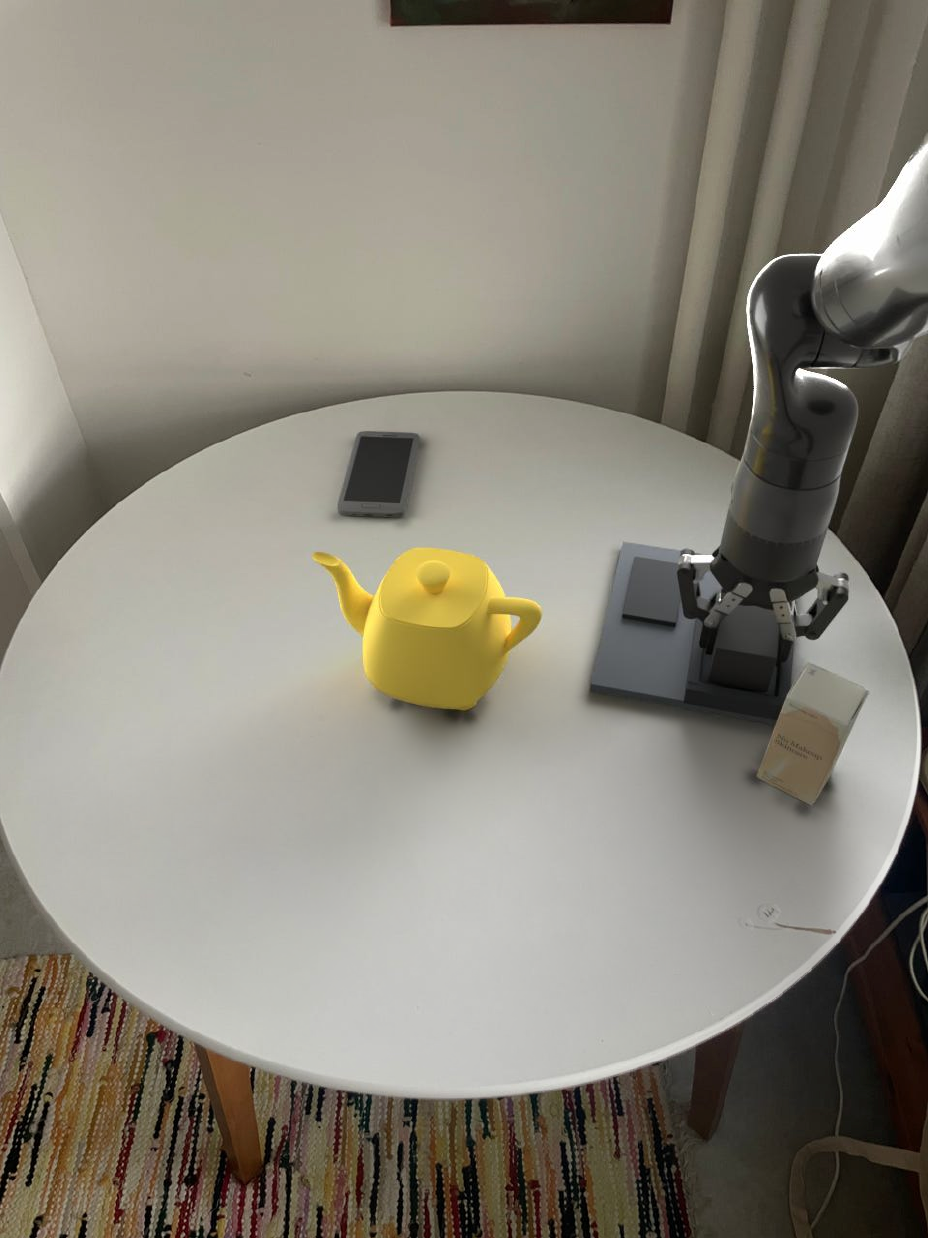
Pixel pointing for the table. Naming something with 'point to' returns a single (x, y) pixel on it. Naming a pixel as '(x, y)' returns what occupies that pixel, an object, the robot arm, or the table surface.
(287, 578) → the table surface
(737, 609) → the black block
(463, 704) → the teapot
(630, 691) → the base pad
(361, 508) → the cell phone
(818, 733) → the box
